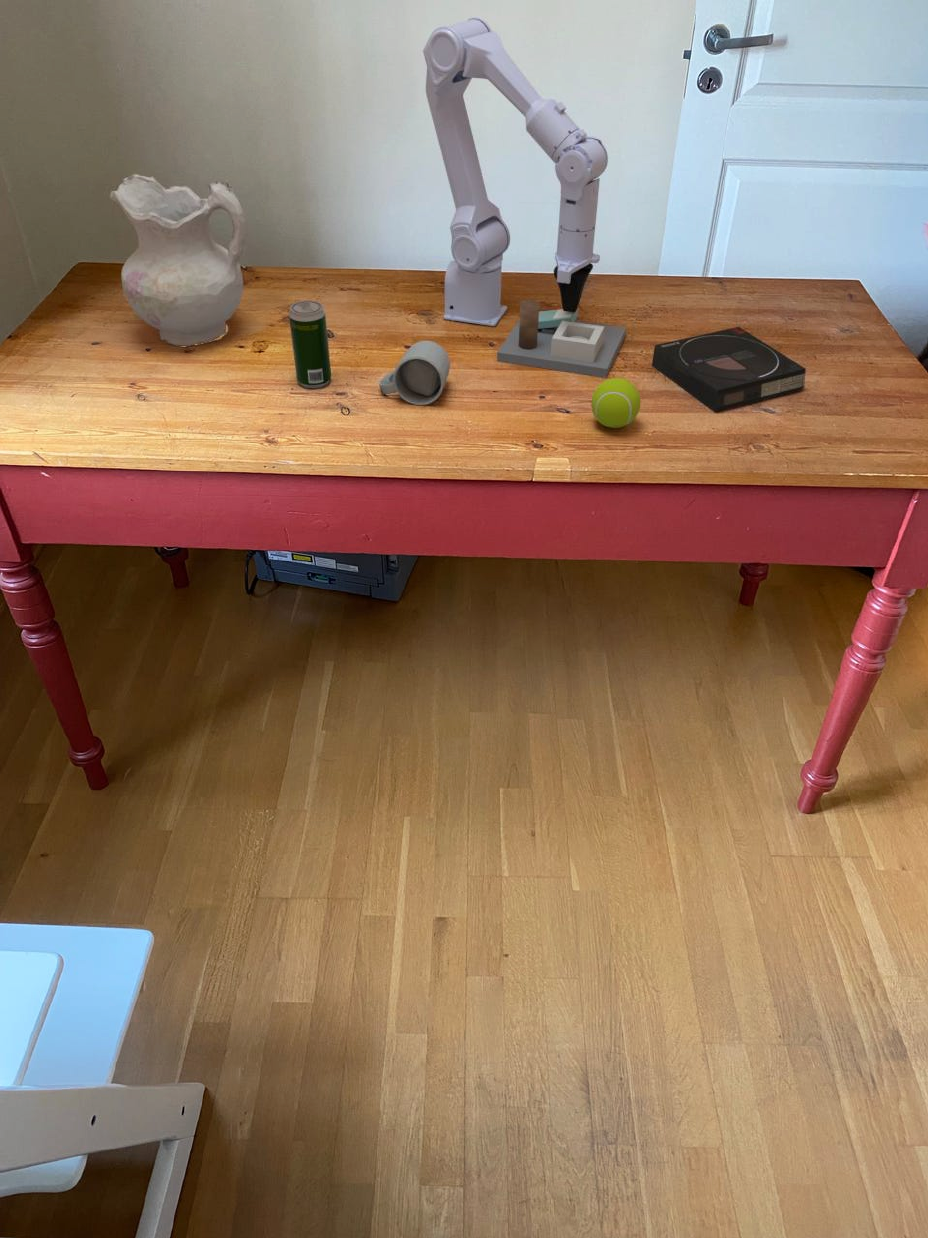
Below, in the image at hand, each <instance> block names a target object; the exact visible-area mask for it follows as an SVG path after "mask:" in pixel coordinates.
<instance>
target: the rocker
mask: <svg viewBox="0 0 928 1238" xmlns="http://www.w3.org/2000/svg"><path fill="white" fill-rule="evenodd" d="M578 316H579V309H577V310H576V312H567V311H563V308H562V309H561V308H560V309H551V310H543V311H539V320H538V329H541V328H551V327H559V325H560V324H561V322H562V321H569V322H574V321H575V320H577V318H578Z"/></svg>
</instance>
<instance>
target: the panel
mask: <svg viewBox="0 0 928 1238" xmlns="http://www.w3.org/2000/svg"><path fill="white" fill-rule="evenodd" d="M519 326H520V318H519V320H518V321H517V323H516V324H515V325H514V327H513V328H512V330H511V331H510V333H509V334H508V336H507V337H506V339H505V340H504V341H503V343H502V344H501V346H500V348H498V350H497V352H496V362H503V363H507V364H515V365H520V366H527V367H532V368H533V367H535V368H541V369H548V370H553V371H559V372H567V373H573V374H580V375H585V376H591V377H592V376H593V377H598V378H603V379H604V378H605V379H606V378H607V376H608V374H609V372H610V369H611V368H612V366H613V364H614V361H615V359H616V357H617V355H618V353H619V351H620V348H621V347H622V344H623V341H624V340H625V338H626V333H627V327H625V326H617V325H612V324H611V325H610V324H605V323H604V324H603V323H595V322H590V321H583V320H582V321H581V320H577V319H575V321H574V322H569V321H562V322H561V324H560V325H559V327H551V328H541V329H538V337H537V347H536V348H534V349H530V350H527V349H522V348H520V347H519ZM572 336H581V337H585V338H587V339H588V340H584V339H577V338H570V337H572Z"/></svg>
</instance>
